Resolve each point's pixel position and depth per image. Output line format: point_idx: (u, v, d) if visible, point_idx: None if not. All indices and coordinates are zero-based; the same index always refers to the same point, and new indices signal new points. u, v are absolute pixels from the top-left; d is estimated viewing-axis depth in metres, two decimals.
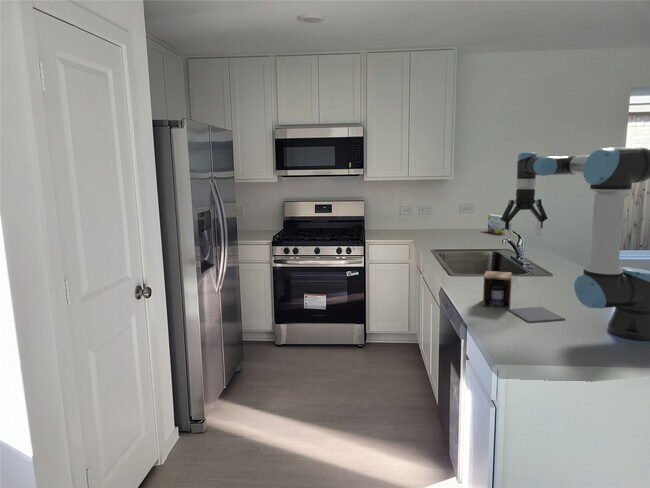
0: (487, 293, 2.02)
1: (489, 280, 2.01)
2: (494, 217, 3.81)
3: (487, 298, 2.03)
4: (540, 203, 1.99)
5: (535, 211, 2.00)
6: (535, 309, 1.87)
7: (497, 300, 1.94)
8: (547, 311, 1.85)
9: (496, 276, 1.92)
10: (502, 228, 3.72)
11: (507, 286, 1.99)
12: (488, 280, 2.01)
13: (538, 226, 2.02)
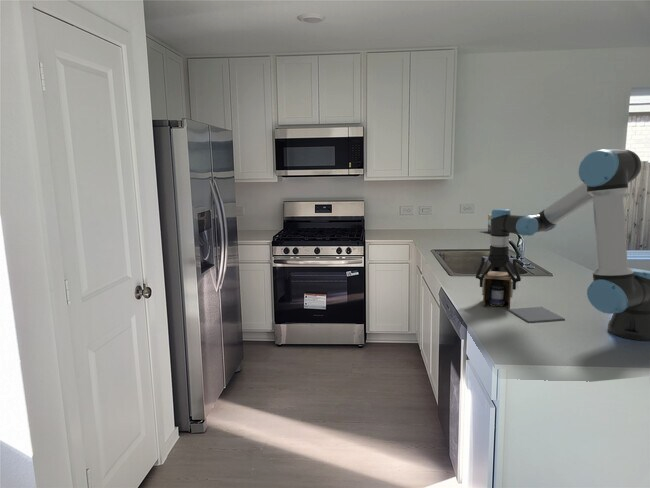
0: (487, 293, 2.02)
1: (489, 280, 2.01)
2: None
3: (487, 298, 2.03)
4: (514, 263, 1.90)
5: (507, 270, 1.92)
6: (535, 309, 1.87)
7: (497, 300, 1.94)
8: (547, 311, 1.85)
9: (496, 276, 1.92)
10: None
11: (507, 286, 1.99)
12: (488, 280, 2.01)
13: (511, 287, 1.93)
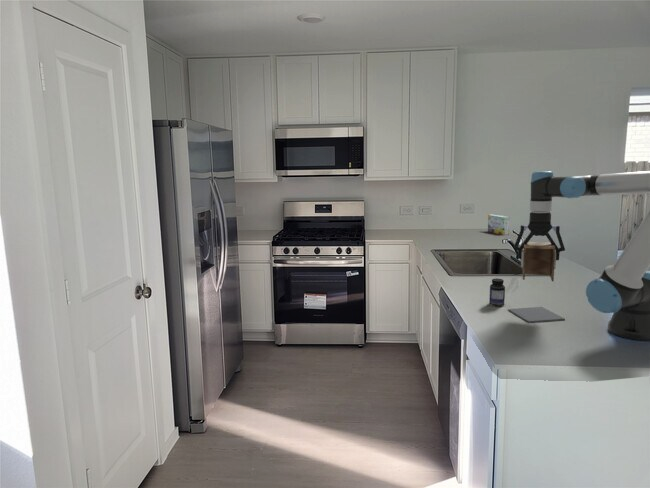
0: (525, 266, 1.85)
1: (528, 252, 1.84)
2: (494, 217, 3.81)
3: (525, 272, 1.85)
4: (558, 230, 1.73)
5: (550, 239, 1.75)
6: (535, 309, 1.87)
7: (497, 300, 1.94)
8: (547, 311, 1.85)
9: (538, 245, 1.74)
10: (502, 228, 3.72)
11: (548, 258, 1.81)
12: (527, 252, 1.84)
13: None
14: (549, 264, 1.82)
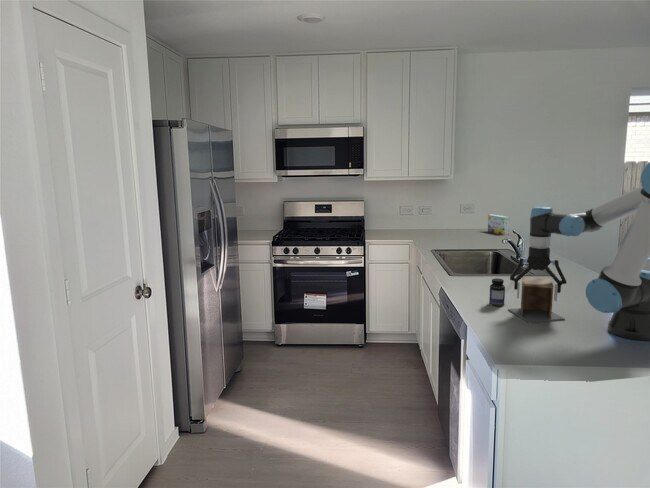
0: (524, 301, 1.88)
1: (526, 287, 1.86)
2: (494, 217, 3.81)
3: (524, 307, 1.88)
4: (557, 264, 1.75)
5: (550, 273, 1.77)
6: None
7: (497, 300, 1.94)
8: (547, 311, 1.85)
9: (536, 283, 1.77)
10: (502, 228, 3.72)
11: (546, 294, 1.84)
12: (525, 287, 1.87)
13: (555, 290, 1.77)
14: (547, 300, 1.84)
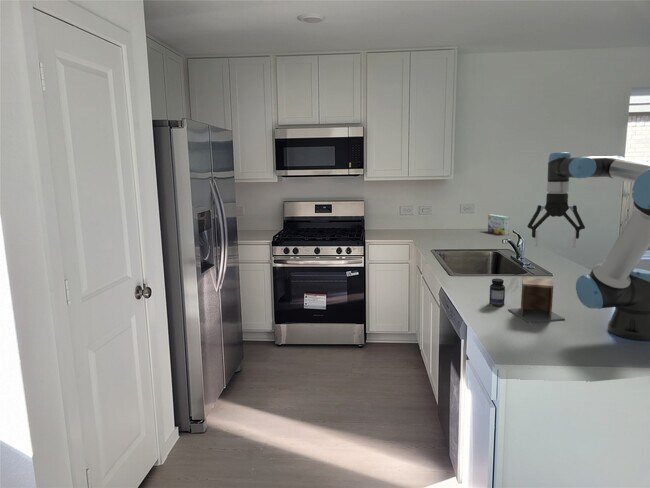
0: (524, 301, 1.88)
1: (526, 287, 1.86)
2: (494, 217, 3.81)
3: (524, 307, 1.88)
4: (575, 210, 1.75)
5: (568, 219, 1.77)
6: None
7: (497, 300, 1.94)
8: (547, 311, 1.85)
9: (536, 283, 1.77)
10: (502, 228, 3.72)
11: (546, 294, 1.84)
12: (525, 287, 1.87)
13: (573, 236, 1.78)
14: (547, 300, 1.84)
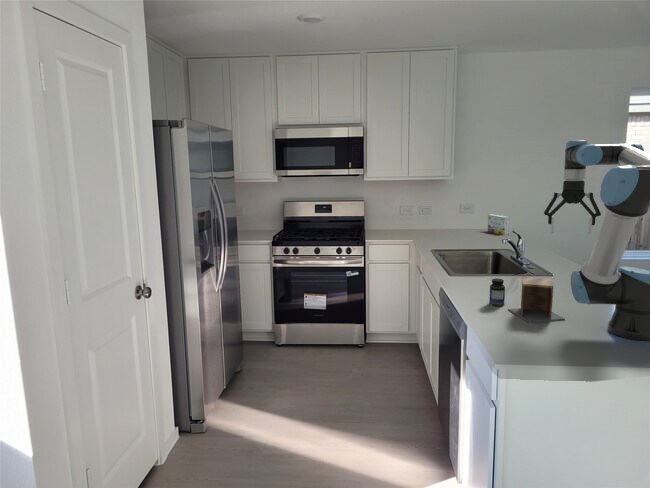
0: (524, 301, 1.88)
1: (526, 287, 1.86)
2: (494, 217, 3.81)
3: (524, 307, 1.88)
4: (591, 197, 1.79)
5: (585, 206, 1.80)
6: None
7: (497, 300, 1.94)
8: (547, 311, 1.85)
9: (536, 283, 1.77)
10: (502, 228, 3.72)
11: (546, 294, 1.84)
12: (525, 287, 1.87)
13: (589, 223, 1.81)
14: (547, 300, 1.84)
